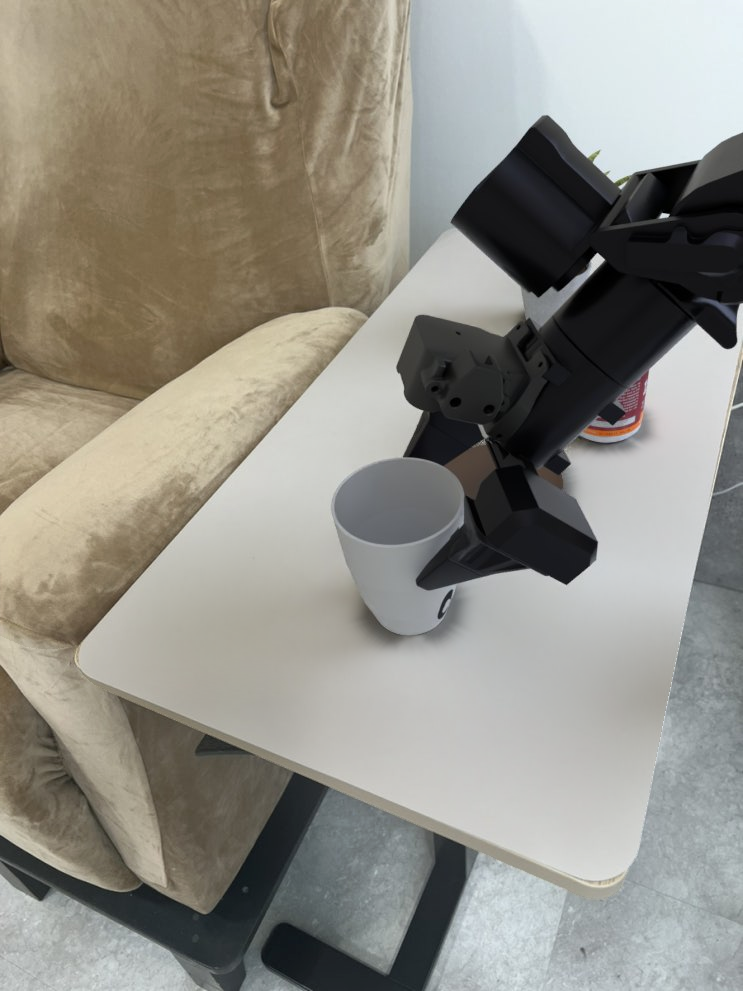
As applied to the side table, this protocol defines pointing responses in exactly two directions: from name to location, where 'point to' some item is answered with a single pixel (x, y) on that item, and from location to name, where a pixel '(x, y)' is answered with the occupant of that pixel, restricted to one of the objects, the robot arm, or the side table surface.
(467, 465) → the coaster
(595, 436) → the pill bottle
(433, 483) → the cup
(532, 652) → the side table surface
